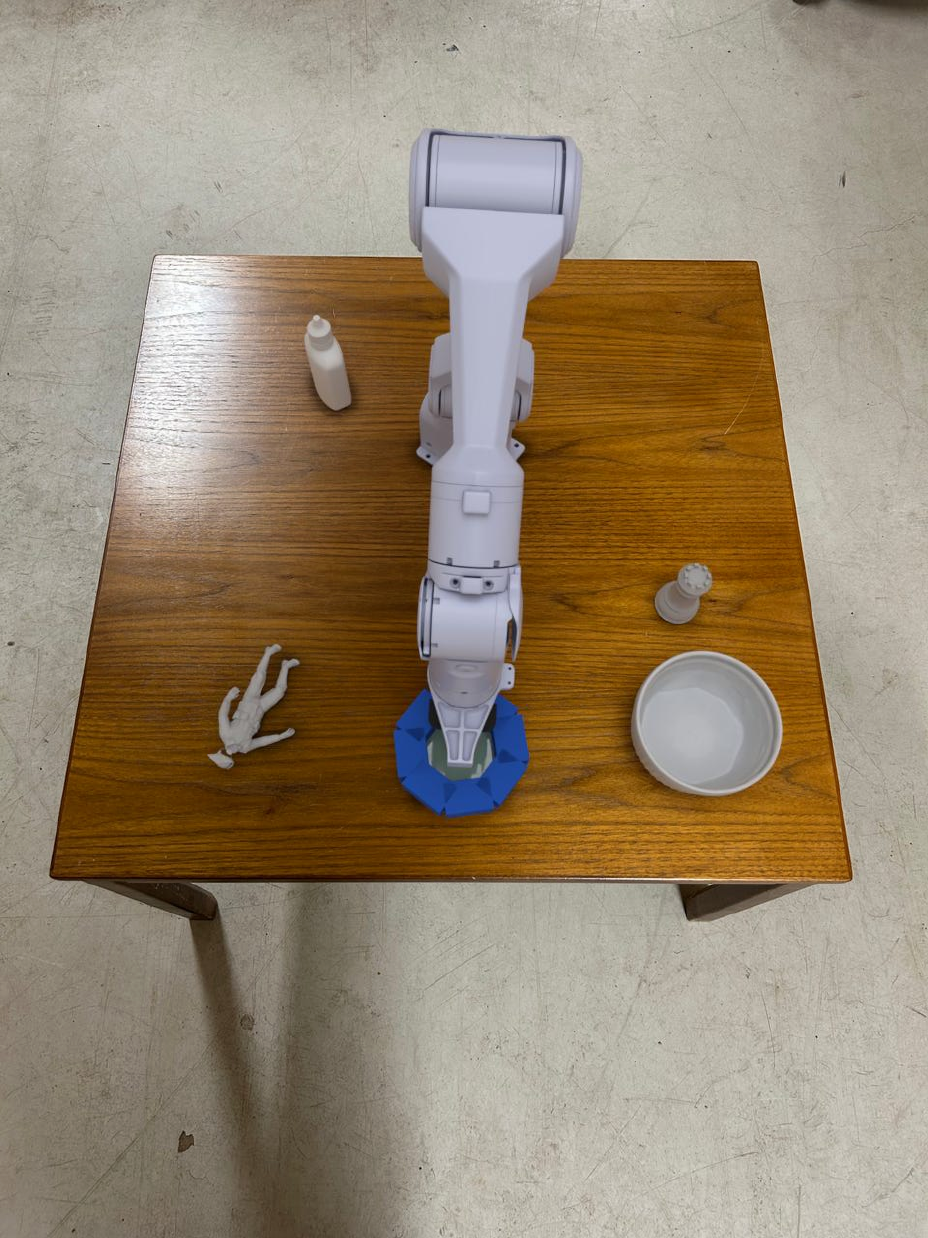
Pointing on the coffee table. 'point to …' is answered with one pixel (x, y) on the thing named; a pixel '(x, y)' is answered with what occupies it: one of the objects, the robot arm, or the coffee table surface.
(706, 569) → the rook chess piece
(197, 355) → the coffee table surface
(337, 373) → the eye dropper bottle
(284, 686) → the soldier figure
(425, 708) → the blue ring
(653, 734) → the ramekin
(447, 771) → the pale green peg block
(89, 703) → the coffee table surface
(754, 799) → the coffee table surface
